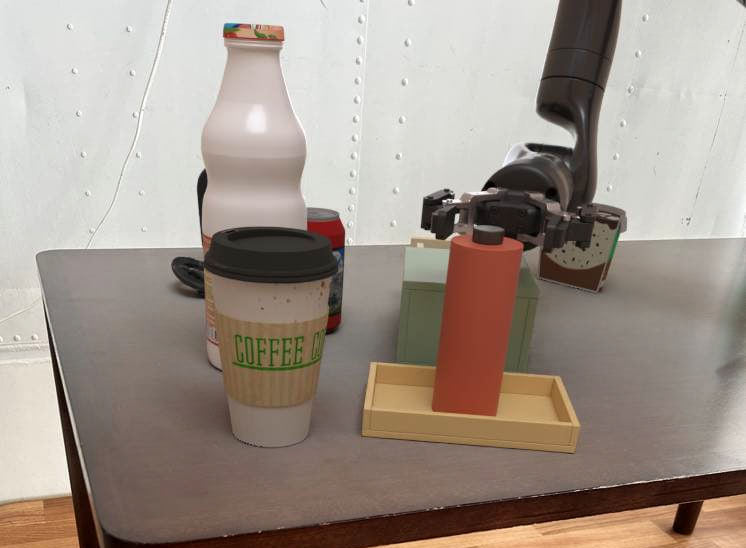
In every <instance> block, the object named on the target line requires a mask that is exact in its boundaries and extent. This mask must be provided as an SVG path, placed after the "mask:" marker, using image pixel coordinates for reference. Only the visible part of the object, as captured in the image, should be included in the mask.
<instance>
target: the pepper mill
mask: <svg viewBox="0 0 746 548" xmlns="http://www.w3.org/2000/svg"><path fill="white" fill-rule="evenodd" d="M504 232H505V230H504V229H503V228H500V227H496V226H488V225H479V226H477V225H474V228H473V234H467V235H460V234H458V235H455V236H453V237H451V238H450V239H451V244H450V253H449V261H448V270H447V279H446V287H445V296H444V305H443V313H442V322H441V331H440V339H439V348H438V357H437V365H436V374H435V383H434V391H433V400H432V410H433V412H442V413H455V414H468V415H480V416H493V417H496V415H497V409H498V403H499V396H500V390H501V384H502V378H503V372H504V365H505V359H506V353H507V347H508V341H509V334H510V328H511V322H512V316H513V310H514V303H515V297H516V291H517V285H518V279H519V272H520V266H521V260H522V255H523V253H524V252H523V248H524V245H523V244H522V243H521V242H519V241H517V240H514V239H511V238H506V237H504Z"/></svg>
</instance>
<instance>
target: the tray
mask: <svg viewBox="0 0 746 548" xmlns="http://www.w3.org/2000/svg"><path fill="white" fill-rule="evenodd" d="M435 374H436V367H432V366H419V365H405V364H396V363H391V362H390V363H389V362H377V361H370V365H369V372H368V376H367V377H368V378H367V384H366V391H365V397H364V403H363V412H362V423H361V424H362V425H361V428H362V429H361V437H367V438H368V437H369V438H380V439H381V438H382V439H394V440H405V441H407V440H408V441H416V442H417V441H418V442H419V441H420V442H431V443H442V444H443V443H444V444H455V445H468V446H481V447H493V448H506V449H519V450H529V451H530V450H531V451H543V452H554V453H555V452H556V453H566V454H568V453H569V454H575V453H576V449H577V444H578V439H579V436H580V430H581V424H580V422H579V418H578V416H577V414H576V412H575V410H574V409H575V408H574V407H573V404H572V402H571V400H570V397H569V395H568V392H567V390H566V387H565V385H564V382H563V380H562V378H561V376H559V375H549V374H535V373H525V374H524V373H510V372H503V378H502V384H501V390H500V396H499V403H498V409H497V415H496V417H493V416H480V415H468V414H455V413H442V412H433V410H432V400H433V391H434V383H435Z"/></svg>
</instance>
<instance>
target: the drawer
mask: <svg viewBox="0 0 746 548" xmlns="http://www.w3.org/2000/svg"><path fill="white" fill-rule="evenodd" d="M451 239H452V238H449V237H448V238H447V239H445V240H437V239H435V237H431V236H419V235H418V236H416V235H411V236H410V245H409V247H421V248H435V249H449V250H450V244H451Z"/></svg>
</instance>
